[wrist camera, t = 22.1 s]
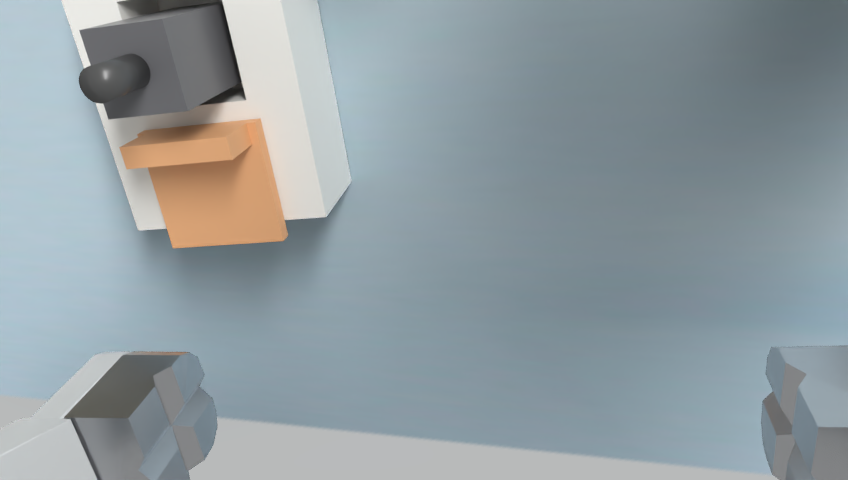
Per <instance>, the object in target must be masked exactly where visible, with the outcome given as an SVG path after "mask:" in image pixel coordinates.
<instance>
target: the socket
mask: <svg viewBox="0 0 848 480" xmlns="http://www.w3.org/2000/svg"><path fill="white" fill-rule="evenodd" d="M61 1H62V4H63V7H64V10H65V13H66V16H67V19H68V22H69V24H70V27H71V30H72V33H73V36H74V39H75V42H76V45H77V48H78V51H79V54H80V57H81V60H82V63H83V66H84V68H86V67H88V66H91V65H90V62H89V59H88V56H87V53H86V50H85V47H84V43H83V40H82V37H81V34H80V31H79V30H82V29H86V28H90V27H95V26H99V25H103V24H107V23H112V22H116V21H120V20H125V19H129V18H133V17H137V16H142V15H146V14H150V13H155V12H159V11H163V10H167V9H172V8H178V7H185V6H192V5H199V4H207V3H214V2H221V1H222V2H223V6H224V10H225V14H226V18H227V22H228V27H229V31H230V35H231V39H232V43H233V47H234V51H235V55H236V59H237V64H238V68H239V72H240V76H241V80H242V82H241V83H239V84H237V85H235V86H233V87H231V88H230V89H228V90H226V91H224V92H222V93H220V94H219V95H217V96H215V97H213V98H211V99H209V100H207V101H206V102H204V103H202V104H200V105H198V106H196V107H194V108H193V109H191V110H189V111H184V112H174V113H165V114H156V115H146V116H137V117H128V118H118V119H108V116H107V113H106V110H105V107H104V104H103V103H102V104H100V103H96V105H97V108H98V111H99V114H100V117H101V120H102V123H103V126H104V129H105V132H106V135H107V138H108V141H109V144H110V147H111V150H112V153H113V156H114V159H115V162H116V165H117V168H118V171H119V174H120V177H121V180H122V183H123V186H124V189H125V192H126V195H127V198H128V201H129V204H130V207H131V210H132V213H133V216H134V219H135V222H136V225H137V228H138V231H140V230H154V229H167V228H166V225H165V221H164V218H163V215H162V212H161V209H160V206H159V202H158V199H157V196H156V193H155V190H154V186H153V183H152V180H151V177H150V174H149V171H148V167H147V168H136V169H126V166H125V163H124V160H123V157H122V154H121V151H120V148H119V147H121V146H123V145H125V144H126V143H128V142H130V141H132V140H134V139H136V138H138V136H137V134H138V133H140V132H142V131H144V130H152V129H162V128H172V127H182V126H191V125H201V124H211V123H220V122H230V121H240V120H250V119H259V118H261V122H262V127H263V131H264V135H265V139H266V144H267V148H268V152H269V156H270V160H271V165H272V169H273V173H274V177H275V181H276V186H277V190H278V194H279V198H280V203H281V207H282V211H283V215H284V219H285V220H293V219H307V218H321V217H327V216H328V214H329V213H330V211H331V210H332V208H333V207H334V206H335V204H336V203H337V201H338V200H339V199H340V197H341V196H342V194H343V193H344V192H345V190H346V189H347V187H348V186H349V185H350V183H351V182H352V180H351V175H350V170H349V164H348V159H347V154H346V148H345V143H344V138H343V133H342V127H341V122H340V117H339V111H338V106H337V101H336V96H335V90H334V85H333V80H332V74H331V69H330V64H329V59H328V53H327V48H326V43H325V37H324V32H323V27H322V22H321V16H320V11H319V6H318V0H61Z"/></svg>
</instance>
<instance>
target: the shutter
mask: <svg viewBox="0 0 848 480" xmlns="http://www.w3.org/2000/svg"><path fill="white" fill-rule="evenodd" d="M137 136H138V138H136V139H134V140H132V141H130V142H128V143H126V144H125V145H123V146H121V147H119V148H120V151H121V154H122V157H123V160H124V163H125V166H126V169H136V168H147V167H148V171H149V174H150V177H151V180H152V183H153V186H154V190H155V193H156V196H157V199H158V202H159V206H160V209H161V212H162V215H163V218H164V221H165V225H166V228H167V231H168V234H169V237H170V240H171V244H172V247H173V248H186V247H201V246H216V245H231V244H247V243H262V242H277V241H284V240H285V239H286V238H287V236H288V232H287V228H286V224H285V219H284V215H283V211H282V207H281V203H280V198H279V194H278V190H277V186H276V181H275V177H274V173H273V169H272V165H271V160H270V156H269V152H268V148H267V144H266V139H265V135H264V131H263V127H262V122H261V118H259V119H250V120H240V121H230V122H220V123H211V124H201V125H191V126H182V127H172V128H162V129H152V130H144V131H142V132H140V133H138V134H137Z"/></svg>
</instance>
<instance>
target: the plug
mask: <svg viewBox="0 0 848 480" xmlns="http://www.w3.org/2000/svg"><path fill="white" fill-rule="evenodd" d="M79 31H80V34H81V37H82V40H83V43H84V47H85V50H86V53H87V56H88V59H89V62H90V65H91V66H88V67H86V68H84V69H83V70H82V71H81V73H80V76H79V84H80V88H81V90H82V92H83V93H84V95H85V96H86V97H87V98H88V99H90V100H91V101H93V102H95V103H100V104H102V103H103V104H104V107H105V110H106V113H107V116H108V119H118V118H128V117H137V116H146V115H156V114H165V113H174V112H184V111H189V110H191V109H193V108H194V107H196V106H198V105H200V104H202V103H204V102H206V101H207V100H209V99H211V98H213V97H215V96H217V95H219V94H220V93H222V92H224V91H226V90H228V89H230V88H231V87H233V86H235V85H237V84H239V83H241V82H242V80H241V76H240V72H239V68H238V64H237V59H236V55H235V51H234V47H233V43H232V39H231V35H230V31H229V27H228V22H227V18H226V14H225V10H224V6H223V2H222V1H221V2H214V3H207V4H199V5H192V6H185V7H178V8H172V9H167V10H163V11H159V12H155V13H150V14H146V15H142V16H137V17H133V18H129V19H125V20H120V21H116V22H112V23H107V24H103V25H99V26H95V27H90V28H86V29H82V30H79Z"/></svg>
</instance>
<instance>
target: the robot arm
mask: <svg viewBox="0 0 848 480" xmlns="http://www.w3.org/2000/svg"><path fill="white" fill-rule="evenodd" d="M766 376H767V378H768V380H769V383H770V385H771V387H772V389H773V392H772V393H771V394H769V395H768V396H767V397H766V398H765V399H764V400H763V402H762V417H761V427H762V439H763V446H764V450H765V454H766V458H767V461H768V464H769V467H770V469H771V472H772V474H773V475H774V476H775V477H777V478H778V479H779V480H848V345H844V346H798V347H771V349H770V351H769V354H768V357H767V365H766ZM203 377H204V372H203V370H202V367H201V364H200V362H199V359H198V357H197V356H195V355H193V354H191V353H189V352H137V351H133V352H128V351H121V352H103V353H99V354H95V355H94V356H93V357H92V358H91V359H90V360H89V361H88V362H87V363H86V364H85V365H84V366H83V367H82V368H81V369H80V370H79V371H78V372H77V373H76V374H74V375H73V376H72V377H71V378H70V379H69V380H68V381H67V382H66V383H65V384H64V385H63V386H62V387H61V388H60V389H59V390H58V391H57V392H56V393H55V394H54V395H53V396H52V397H51V398H50V399H49V400H48V401H47V402H46V403H45V404H44V405H43V406H42V407H41V408H40V409H39V410H38V411H37V412H36V413H35V414H34V415H33V416H32V417H31V418H20V419H18V420H16V421H15V422H12V423H10V424H8V425H6V426H4V427H2V428H0V480H190V477H189V472H188V471H189V470H190V469H192V468H193V467H195V466H196V465H197V464H199V463H200V462H202V461H203V460H205V458H206V456H207V455H208V453H209V451H210V450H211V448H212V446H213V444H214V439H215V435H216V430H217V413H216V409H215V405H214V402H213V399H212V398H211V397H210V396H209V395H208V394H207V393H206V392H205V391H204V390H203V389H202V388H200V387H199V386H200V384H201V382H202V379H203Z"/></svg>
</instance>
